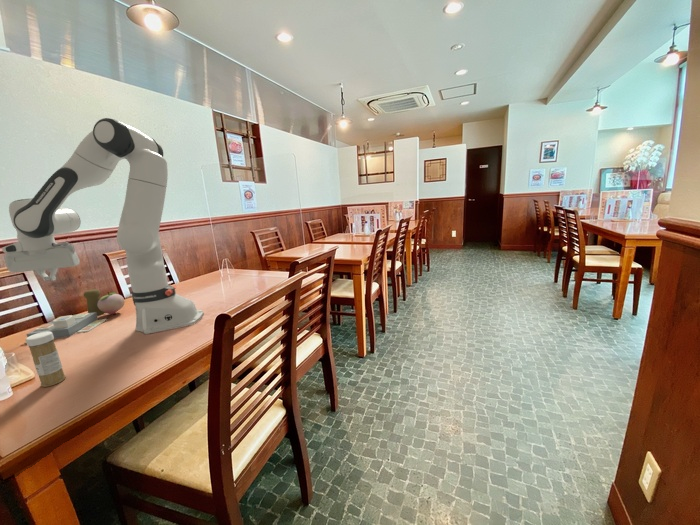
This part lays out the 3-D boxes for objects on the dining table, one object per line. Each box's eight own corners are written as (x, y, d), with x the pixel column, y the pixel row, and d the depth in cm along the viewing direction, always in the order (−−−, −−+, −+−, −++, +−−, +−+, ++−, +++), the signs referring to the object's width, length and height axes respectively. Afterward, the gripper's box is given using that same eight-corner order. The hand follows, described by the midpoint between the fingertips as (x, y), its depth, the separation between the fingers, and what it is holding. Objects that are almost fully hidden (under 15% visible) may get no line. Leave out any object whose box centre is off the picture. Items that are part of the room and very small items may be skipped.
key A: (74, 323, 110) (72, 314, 110) (67, 327, 107) (64, 318, 106) (62, 324, 110) (60, 316, 109) (55, 329, 106) (52, 320, 105)
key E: (91, 321, 112) (89, 312, 111) (85, 325, 108) (82, 316, 107) (80, 322, 111) (77, 314, 110) (73, 326, 107) (70, 317, 106)
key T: (59, 331, 103) (56, 322, 102) (51, 336, 99) (48, 327, 98) (46, 333, 102) (43, 324, 101) (37, 338, 98) (34, 329, 97)
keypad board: (98, 318, 114) (96, 312, 113) (70, 336, 99) (67, 328, 98) (63, 323, 111) (61, 316, 111) (29, 342, 96) (26, 334, 95)
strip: (106, 319, 113) (106, 318, 112) (88, 331, 102) (88, 330, 102) (96, 321, 112) (95, 319, 112) (77, 333, 101) (76, 331, 101)
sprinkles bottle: (40, 383, 72) (24, 336, 69) (65, 374, 75) (51, 329, 72) (41, 390, 69) (25, 341, 66) (67, 380, 72) (52, 333, 69)
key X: (76, 324, 104) (73, 315, 103) (68, 328, 100) (65, 319, 99) (63, 326, 103) (61, 316, 102) (55, 330, 99) (52, 321, 98)
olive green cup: (95, 317, 116) (88, 292, 114) (84, 316, 117) (77, 292, 115) (110, 311, 122) (104, 287, 120) (99, 311, 123) (93, 287, 121)
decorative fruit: (121, 316, 115) (115, 293, 113) (97, 319, 113) (91, 296, 111) (130, 308, 124) (125, 287, 122) (109, 311, 122) (103, 290, 120)
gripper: (78, 240, 106) (88, 274, 109) (12, 246, 102) (25, 281, 105) (65, 242, 100) (77, 279, 103) (-5, 248, 96) (9, 286, 99)
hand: (50, 280), depth 104 cm, fingers closed
